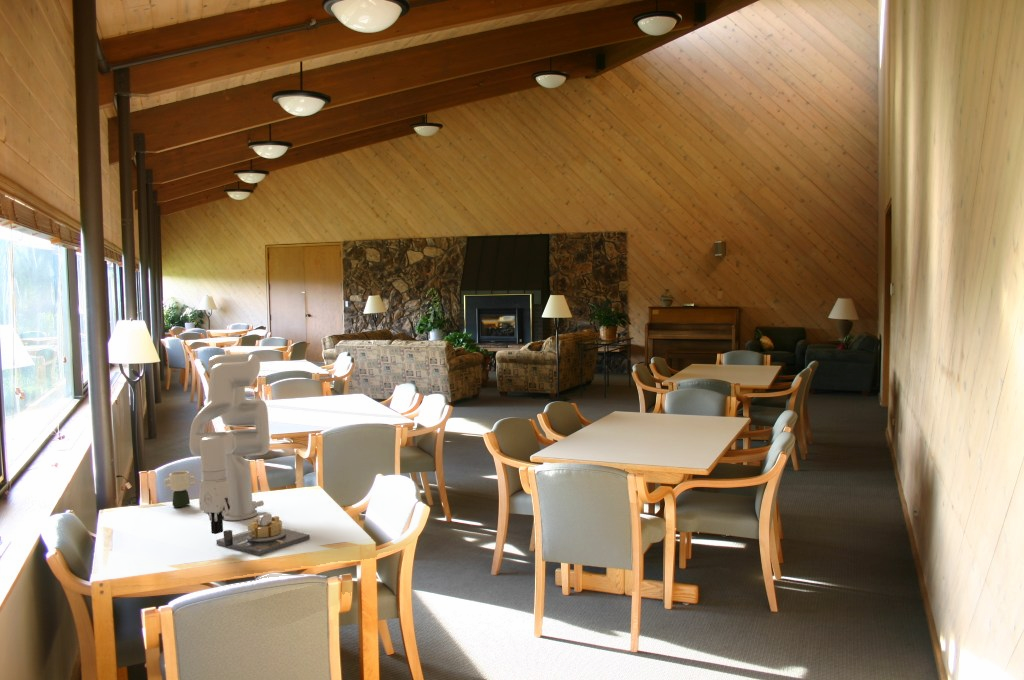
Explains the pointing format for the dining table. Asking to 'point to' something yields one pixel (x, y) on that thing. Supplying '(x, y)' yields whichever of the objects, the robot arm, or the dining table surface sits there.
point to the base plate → (266, 539)
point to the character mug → (180, 487)
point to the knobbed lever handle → (255, 531)
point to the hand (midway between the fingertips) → (217, 532)
